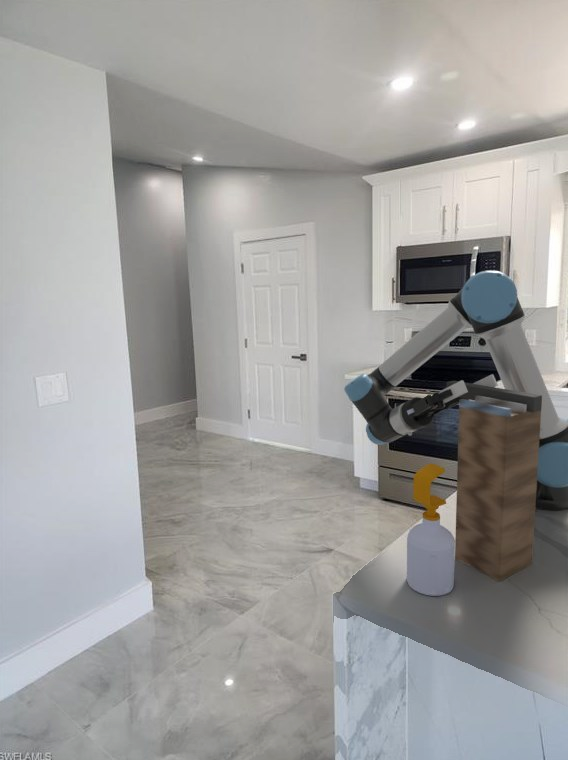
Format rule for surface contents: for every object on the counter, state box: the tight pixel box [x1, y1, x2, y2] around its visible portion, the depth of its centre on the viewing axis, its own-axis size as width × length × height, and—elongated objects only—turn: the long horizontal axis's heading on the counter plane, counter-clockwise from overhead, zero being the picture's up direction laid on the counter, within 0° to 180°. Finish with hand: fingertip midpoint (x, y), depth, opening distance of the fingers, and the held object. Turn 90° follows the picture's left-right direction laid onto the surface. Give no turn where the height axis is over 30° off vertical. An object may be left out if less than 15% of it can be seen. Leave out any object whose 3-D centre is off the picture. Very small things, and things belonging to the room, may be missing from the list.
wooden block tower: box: [454, 395, 541, 582], centre depth 105 cm, size 11×11×36 cm
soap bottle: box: [406, 463, 455, 597], centre depth 99 cm, size 9×9×25 cm
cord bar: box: [445, 380, 542, 412], centre depth 106 cm, size 21×3×3 cm, turn 32°
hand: (479, 383), depth 108 cm, fingers open, 9 cm apart
